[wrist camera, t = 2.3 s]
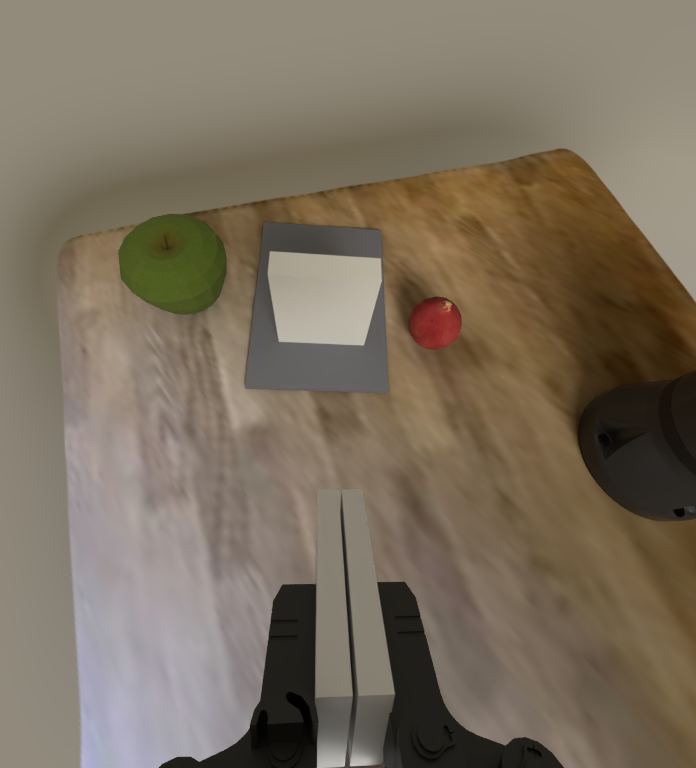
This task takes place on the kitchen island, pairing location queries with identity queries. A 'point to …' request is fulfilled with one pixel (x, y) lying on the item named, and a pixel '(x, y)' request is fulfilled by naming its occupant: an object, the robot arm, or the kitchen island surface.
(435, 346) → the red pomegranate
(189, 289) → the apple
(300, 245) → the mat
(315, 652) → the robot arm
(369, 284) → the tile
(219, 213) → the kitchen island surface
